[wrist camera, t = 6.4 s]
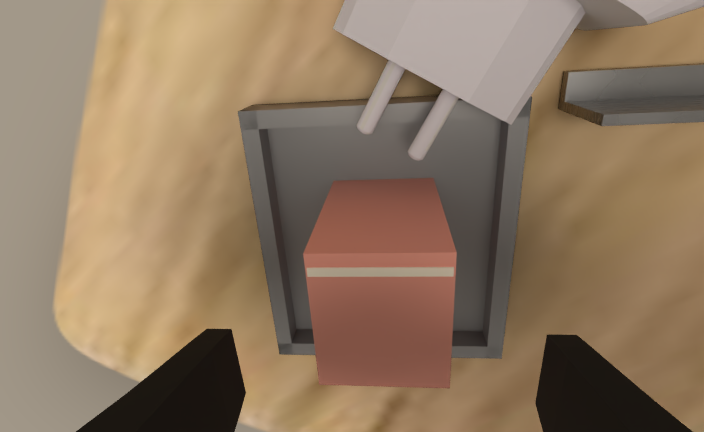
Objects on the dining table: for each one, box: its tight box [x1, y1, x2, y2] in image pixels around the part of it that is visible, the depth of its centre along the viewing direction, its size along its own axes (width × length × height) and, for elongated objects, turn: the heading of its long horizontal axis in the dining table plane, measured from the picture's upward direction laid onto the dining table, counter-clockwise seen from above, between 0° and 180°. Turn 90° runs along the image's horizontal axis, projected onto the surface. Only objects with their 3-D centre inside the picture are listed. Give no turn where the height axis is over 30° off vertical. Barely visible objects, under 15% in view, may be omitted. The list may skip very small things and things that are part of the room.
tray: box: [238, 95, 532, 359], centre depth 15 cm, size 10×9×2 cm
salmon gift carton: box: [303, 178, 457, 388], centre depth 13 cm, size 4×4×6 cm
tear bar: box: [559, 64, 704, 126], centre depth 11 cm, size 1×6×3 cm, turn 93°
